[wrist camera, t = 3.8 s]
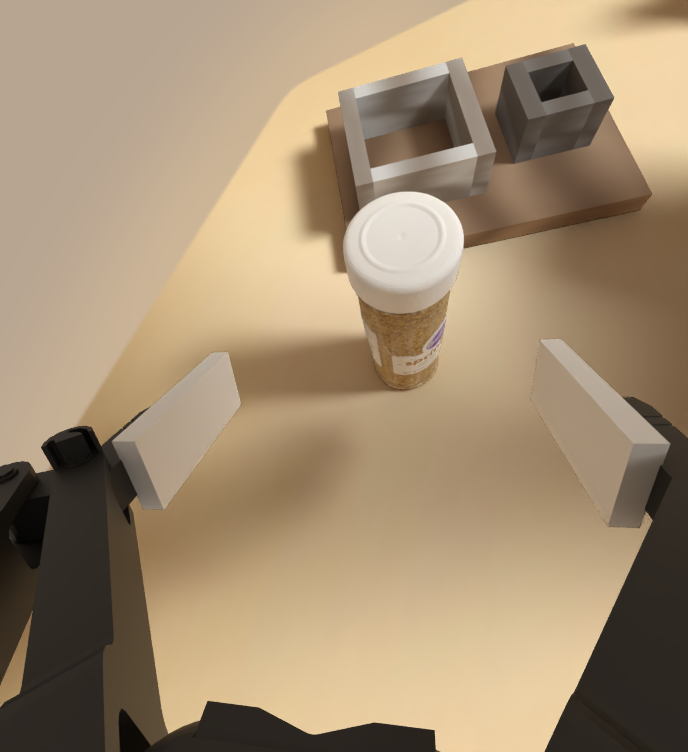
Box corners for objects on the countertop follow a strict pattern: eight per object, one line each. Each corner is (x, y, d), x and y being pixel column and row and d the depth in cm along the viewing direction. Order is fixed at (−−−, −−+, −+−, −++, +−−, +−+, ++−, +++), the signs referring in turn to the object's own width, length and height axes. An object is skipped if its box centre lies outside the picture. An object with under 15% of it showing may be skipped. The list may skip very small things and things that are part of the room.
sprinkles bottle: (427, 399, 25) (445, 303, 12) (364, 379, 26) (322, 274, 14) (446, 339, 26) (480, 195, 14) (385, 323, 27) (363, 177, 15)
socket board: (566, 63, 32) (593, -12, 27) (639, 209, 27) (688, 149, 22) (329, 126, 34) (316, 68, 30) (354, 272, 29) (344, 229, 24)
